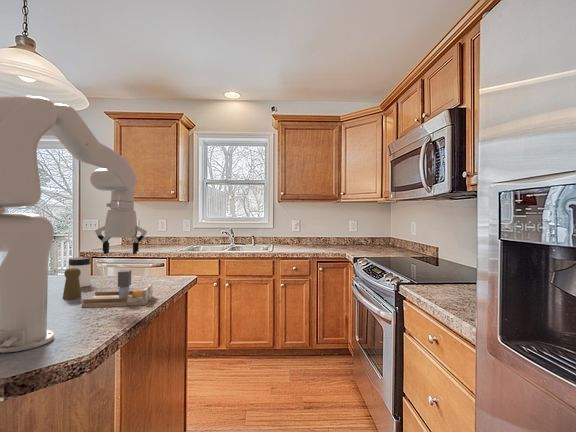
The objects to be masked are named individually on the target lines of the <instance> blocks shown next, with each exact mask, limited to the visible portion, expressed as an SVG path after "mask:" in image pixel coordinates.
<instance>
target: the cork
mask: <svg viewBox="0 0 576 432" xmlns="http://www.w3.org/2000/svg"><path fill="white" fill-rule="evenodd" d="M63 274H64V277H65V281H64V288H63V293H62V299H63V300H76V299H80V298H82V293H81V292H82V291H81V287H80V282H79V276H80V274H81V271H80V269H78V268H69V269H68V268H67V269H65V270H64V272H63Z"/></svg>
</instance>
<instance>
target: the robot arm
mask: <svg viewBox="0 0 576 432" xmlns="http://www.w3.org/2000/svg"><path fill="white" fill-rule="evenodd" d="M44 136H54V137H55V138H57V140H59V142H60V143H61V144H62V146H63V147H64V148H65V149H66V150H67V152H69V153H70V154H71V156H72V157H73V158H74V159H75V160H76V161H77V160H78V161H80V162H82V163H85V164H88V165H91V166H94V167H99V168H98V169H95V170H94V171H92V173H91V174H90V177H89V179H90V183H91V185H92V186H93V188H94V189H97V190H100V191H103V192H104V191H108V192H109V191H110V192H111V193H110V194H111V195H110V202H107V203H106V207H109V209H108V210H107V212H106V218H105V223H104V226H102V227H99V228H97V229H95V230H94V233H95V234H96V237H97V238H98V240H100V242H102V252H103V254H105V255H106V254H110V253H109V252H110V242H109V240H110V239H111V238H113V239H115V238H116V239H117V238H118V239H119V238H125V239H127V238H131V240H132V241H133V243H132V254H133V255H136V254H137V252H139V244H140V242H141V241H142V240H143V239H145V236H146V235H147V233H148V231H147V230H146V229H144V228H142V227H140V226H138V223H137V222H138V219H137V213H136V210H134V209H135V208H134V207H135V188H136V186H137V183H138V182H137V181H138V180H137V174H136V173H135V171H134V168H132V166H131V164H130V162H129V161H128V160H127V159H126V158H125V157H124V156H123V155H122V154H120V153H118V152H117V151H115V150H113V149H112V148H110V147H108V146H107V145H104V144H103V143H101V142H99V139H98V138H97V137H96V135H94V133H93V132H92V131H91V129H90V127H89V126H88V125H87V123H86V122H85V121H84V120H83V118H82V117H81V116H80V114H79V113H78V112H77V109H74V107H72V106H70V105H67V104H62V103H54V102H53V101H51V100H50V99H48V98H46V97H42V96H33V95H16V96H15V95H14V96H13V95H12V96H0V253H7V254H5V256H4V259H3V260H2V262H1V264H0V353H3V354H4V353H15V352H22V351H27V350H32V349H35V348H39V347H40V346H44V345H46V344H48V343H50V342H52V341H53V340H54V338H55V333H54V331H52V330H49V329H48V327H47V326H48V290H49V289H48V283H49V281H48V279H49V278H48V274H49V259H50V251H51V247H52V243H53V240H54V233H55V232H54V225H53V224H52V222H51V221H50V219H48V218H46V217H45V216H43V215H40V214H36V213H31V212H30V213H28V212H6V209H23V208H24V209H25V208H30V207H33V206H36V205H37V204H38V203H39V201H40V200H41V197H42V195H41V194H42V193H41V192H42V188H41V181H40V179H41V178H40V173H39V171H40V170H39V166H38V165H39V162H38V153H37V150H38V145H39V143H40V141H41V138H43V137H44ZM103 231H104V235H103V233H102V232H103ZM138 232H140V233H141V234H140V235H139V237H138Z"/></svg>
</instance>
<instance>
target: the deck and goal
mask: <svg viewBox="0 0 576 432" xmlns="http://www.w3.org/2000/svg"><path fill="white" fill-rule="evenodd" d="M134 291H135V290H129V295H128V296H127V297H126V298H119V290H118V291H117V290H114V291H113V290H112V291H110V290H108V291H107V290H105V291H95V292H94V296H91V297H90V298H84V299H83V298H82V299H83V300H82V303H81V308H103V307H106V308H108V307H110V308H111V307H127V306H146V305H147V304H148V302H149V301H150V300H151V299H152V298H153V283H149V284H148V285H146V286H145V287H144V289H142V290H141V291H142V297H137V298H132V293H133V292H134Z"/></svg>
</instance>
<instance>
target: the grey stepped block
mask: <svg viewBox="0 0 576 432" xmlns="http://www.w3.org/2000/svg"><path fill="white" fill-rule="evenodd" d="M131 285H132V270H131V269H130V270H129V269H127V270H126V269H124V270H123V269H121V270H119V271H118V272H117V288H118V291H119V298H126V297H127V296H128V295H129V291H130V286H131Z"/></svg>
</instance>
